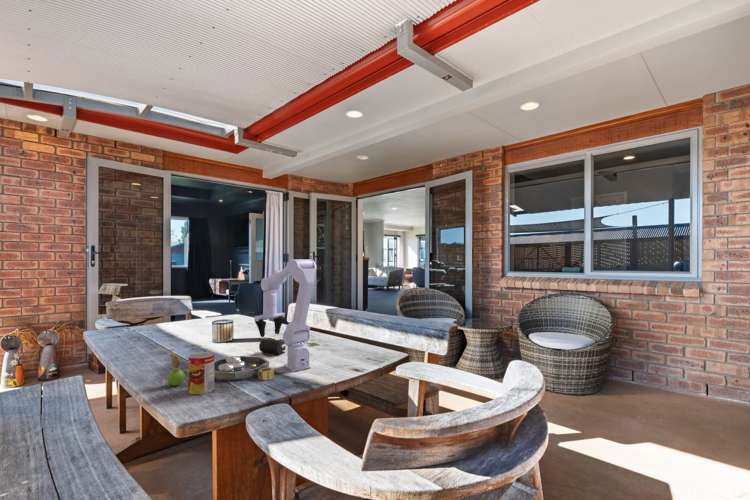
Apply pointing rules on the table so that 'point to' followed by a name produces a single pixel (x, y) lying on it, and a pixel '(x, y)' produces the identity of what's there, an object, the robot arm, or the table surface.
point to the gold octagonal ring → (266, 373)
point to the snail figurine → (175, 371)
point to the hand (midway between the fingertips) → (269, 335)
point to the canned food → (201, 372)
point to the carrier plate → (238, 367)
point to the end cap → (272, 346)
